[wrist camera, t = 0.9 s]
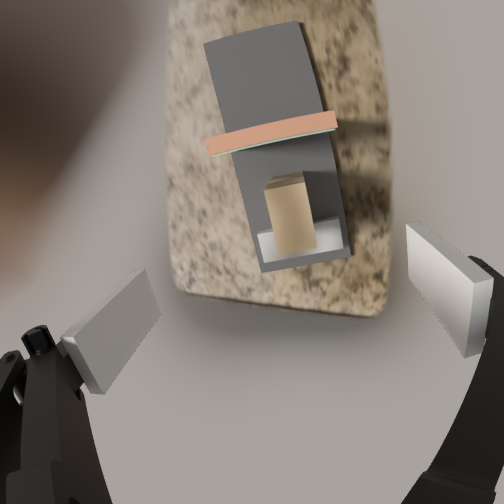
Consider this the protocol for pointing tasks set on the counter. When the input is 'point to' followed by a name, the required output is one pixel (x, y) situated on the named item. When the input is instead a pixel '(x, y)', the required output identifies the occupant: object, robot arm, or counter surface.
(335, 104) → the counter surface
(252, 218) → the mat
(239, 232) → the counter surface
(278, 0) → the counter surface
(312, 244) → the upright block with backplate
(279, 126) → the tile
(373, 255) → the counter surface
